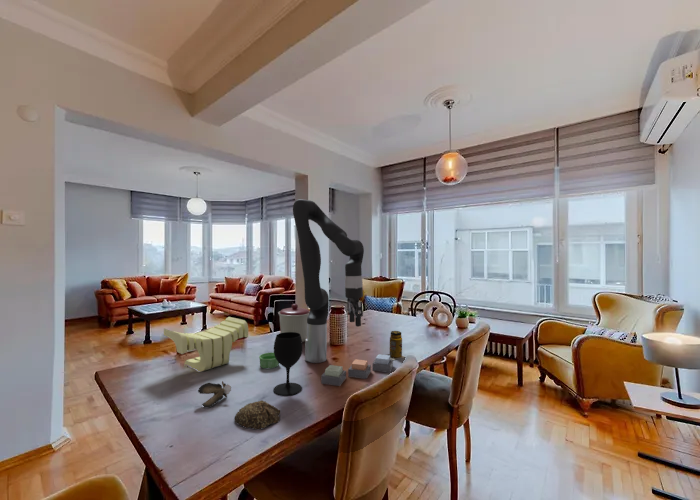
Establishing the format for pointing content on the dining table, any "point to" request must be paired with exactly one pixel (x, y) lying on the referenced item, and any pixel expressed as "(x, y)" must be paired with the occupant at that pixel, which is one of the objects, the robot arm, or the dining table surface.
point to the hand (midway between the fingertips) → (355, 324)
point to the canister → (294, 320)
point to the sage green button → (334, 370)
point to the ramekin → (268, 360)
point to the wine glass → (287, 359)
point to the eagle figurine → (215, 389)
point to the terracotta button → (359, 364)
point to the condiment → (395, 345)
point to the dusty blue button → (383, 359)
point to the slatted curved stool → (210, 343)
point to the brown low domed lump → (257, 415)
